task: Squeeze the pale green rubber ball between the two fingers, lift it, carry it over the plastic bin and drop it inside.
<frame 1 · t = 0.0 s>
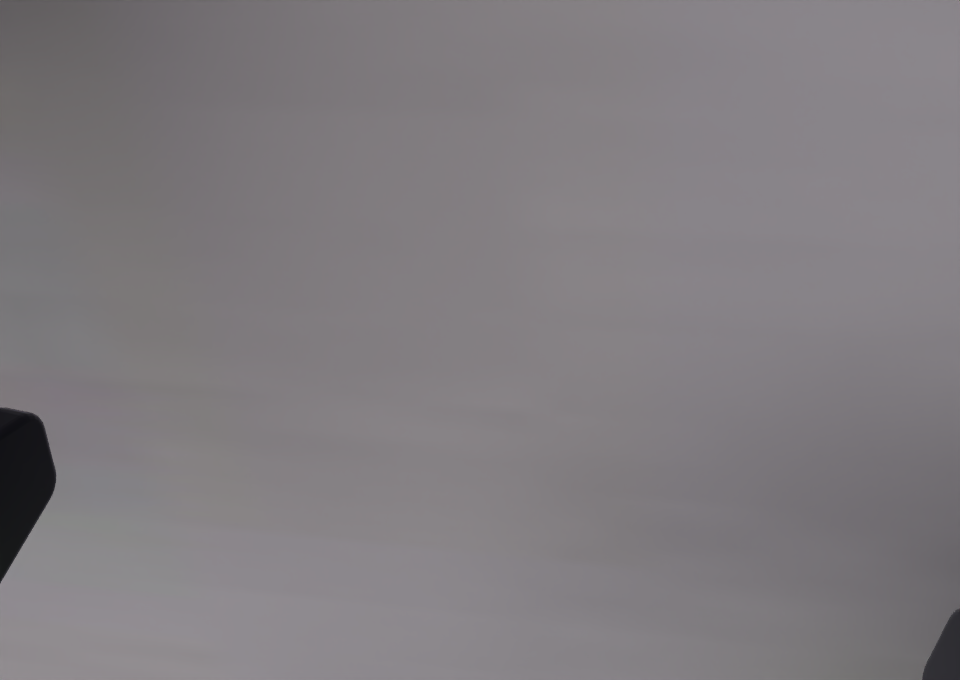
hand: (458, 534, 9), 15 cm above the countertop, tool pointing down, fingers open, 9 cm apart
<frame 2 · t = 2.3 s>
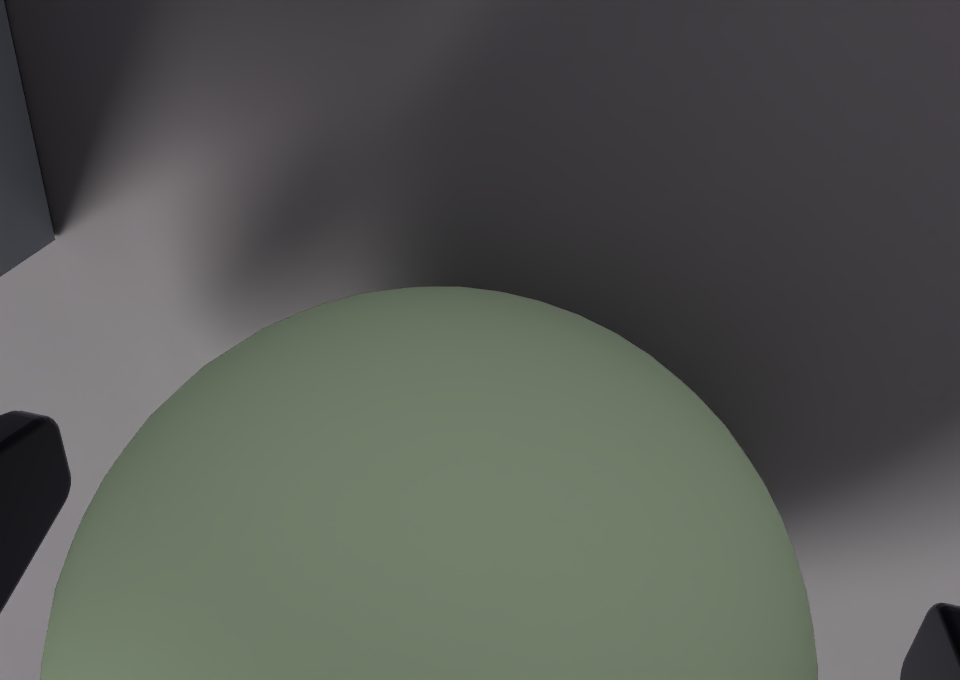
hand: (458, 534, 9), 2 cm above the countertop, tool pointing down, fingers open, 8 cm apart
ball: (511, 430, 10), on the countertop
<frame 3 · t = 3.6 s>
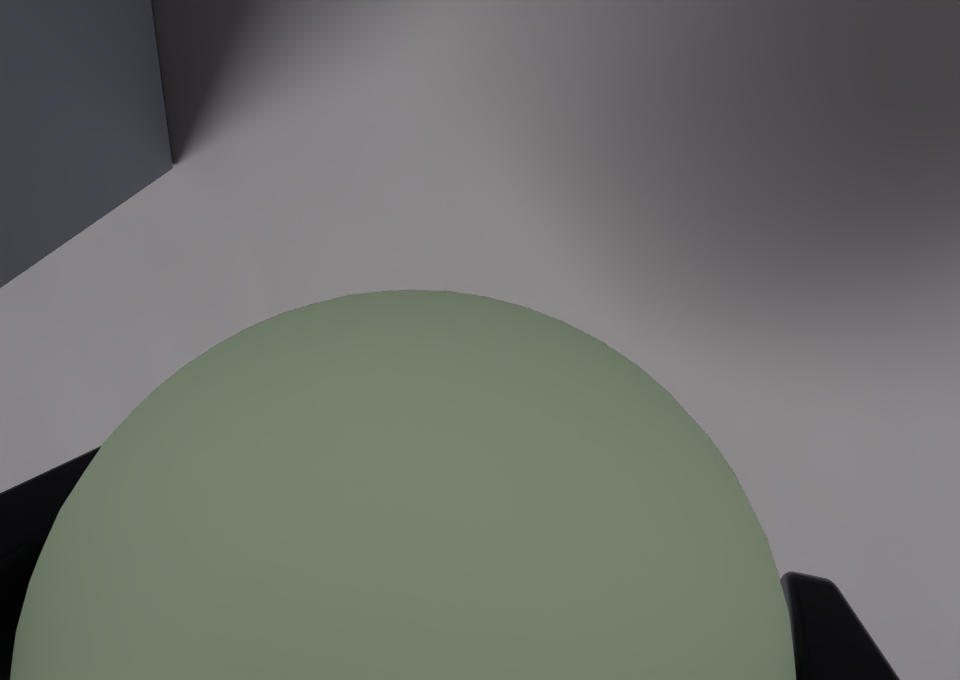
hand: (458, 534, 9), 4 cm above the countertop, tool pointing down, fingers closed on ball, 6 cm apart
ball: (507, 438, 10), point 3 cm above the countertop, touching gripper
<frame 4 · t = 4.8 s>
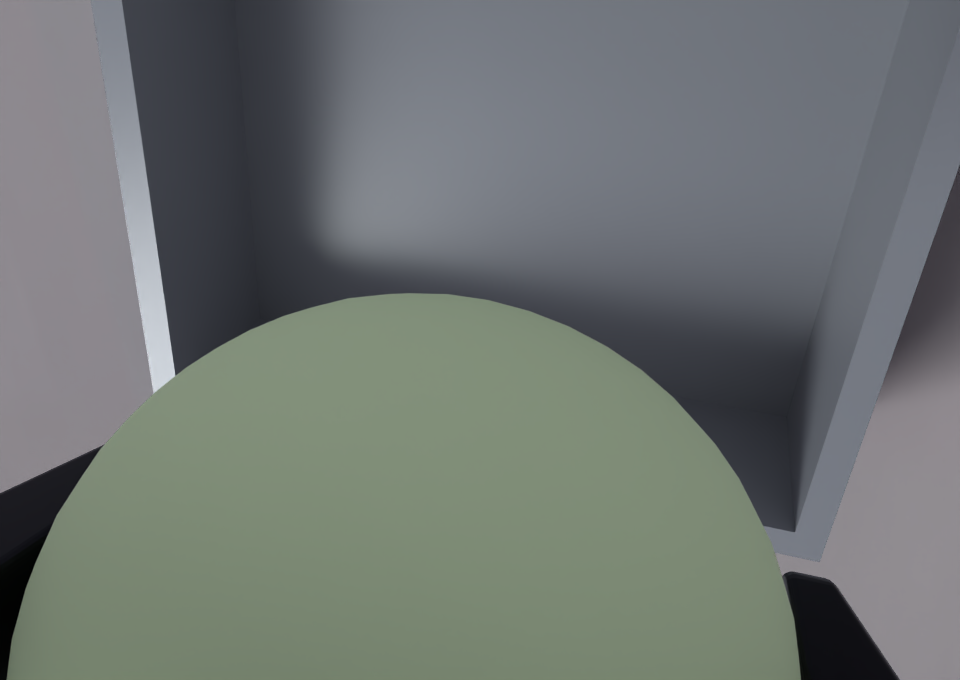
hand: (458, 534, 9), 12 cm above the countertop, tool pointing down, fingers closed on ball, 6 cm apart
ball: (508, 441, 10), point 11 cm above the countertop, touching gripper
bin: (538, 89, 19), on the countertop
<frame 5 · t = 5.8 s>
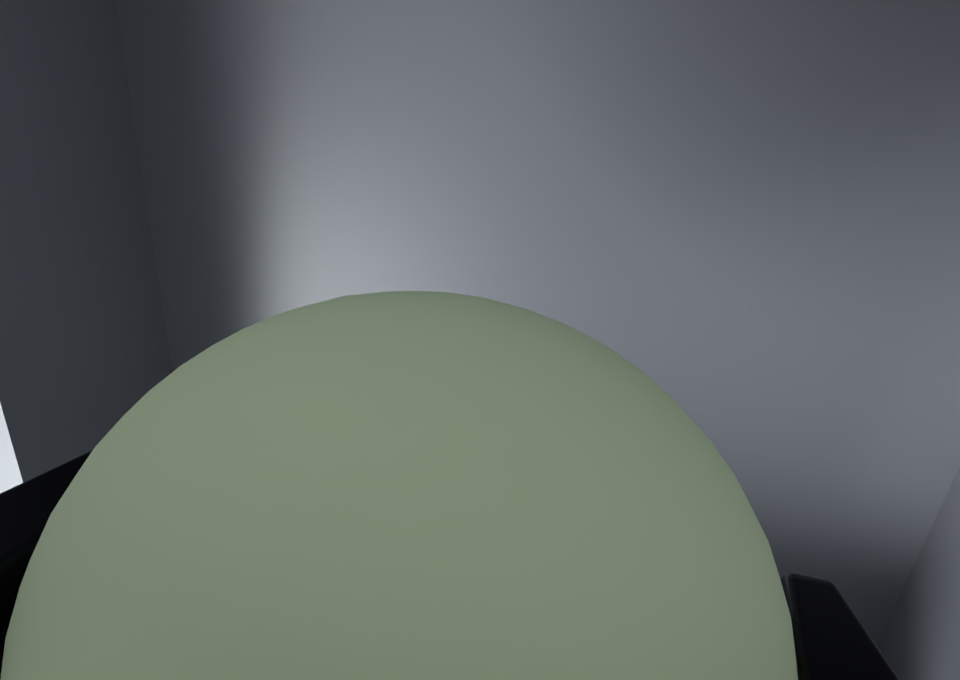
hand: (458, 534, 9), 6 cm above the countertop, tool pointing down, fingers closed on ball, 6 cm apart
ball: (505, 440, 10), point 5 cm above the countertop, touching gripper
bin: (553, 250, 14), on the countertop
when the fingers open (3 cm above the countertop, at t = 6.7 s): ball drops 1 cm, resting on bin.
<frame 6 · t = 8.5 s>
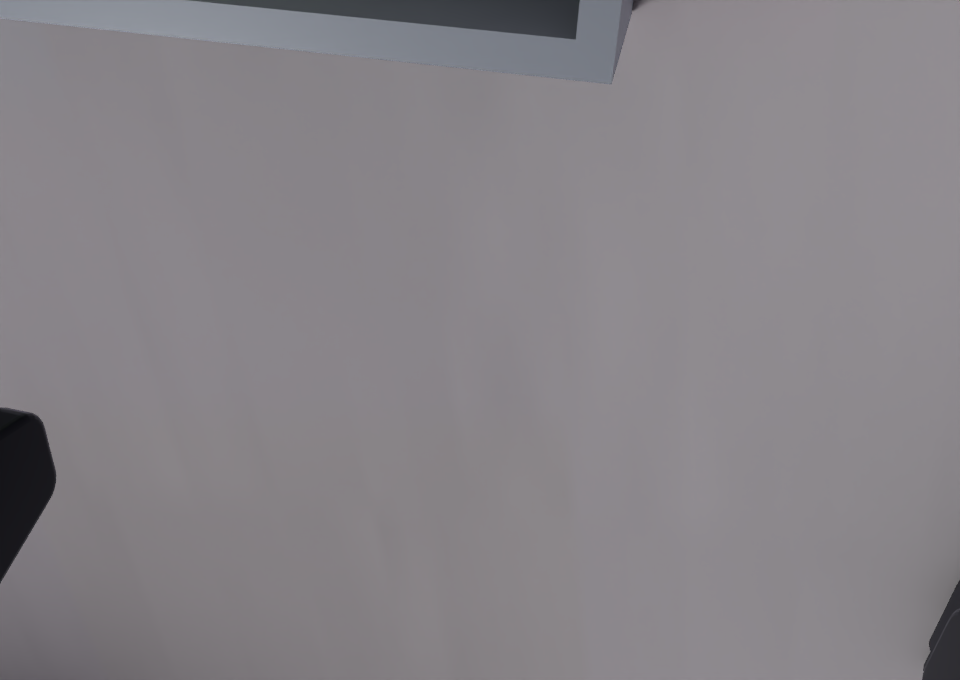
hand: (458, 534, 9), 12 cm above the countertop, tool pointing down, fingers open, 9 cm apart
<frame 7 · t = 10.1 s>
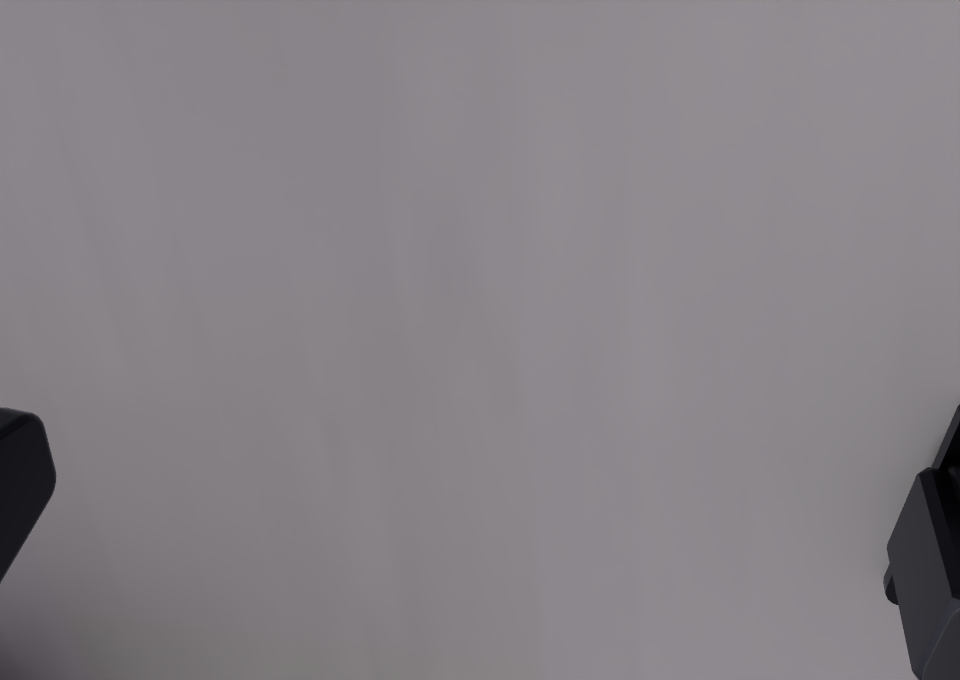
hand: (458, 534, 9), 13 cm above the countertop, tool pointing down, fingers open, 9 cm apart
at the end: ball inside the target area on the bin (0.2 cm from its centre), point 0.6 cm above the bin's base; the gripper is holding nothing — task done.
